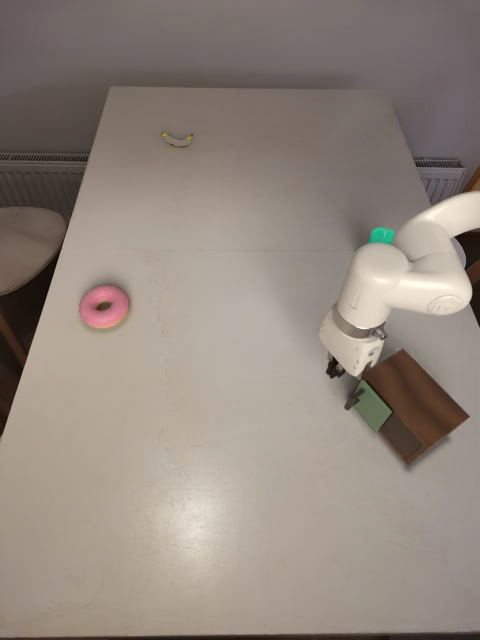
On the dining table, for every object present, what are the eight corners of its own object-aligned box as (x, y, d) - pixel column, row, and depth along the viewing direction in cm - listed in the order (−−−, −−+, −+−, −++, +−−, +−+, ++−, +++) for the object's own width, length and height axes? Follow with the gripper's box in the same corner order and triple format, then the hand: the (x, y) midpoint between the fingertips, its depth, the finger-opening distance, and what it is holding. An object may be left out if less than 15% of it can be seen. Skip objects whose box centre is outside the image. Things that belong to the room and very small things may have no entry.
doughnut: (128, 330, 95) (124, 319, 91) (78, 332, 94) (72, 322, 91) (132, 291, 101) (128, 280, 98) (84, 293, 101) (79, 282, 97)
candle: (382, 278, 105) (398, 243, 95) (357, 272, 106) (370, 236, 96) (385, 261, 108) (401, 225, 98) (362, 255, 109) (374, 219, 99)
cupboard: (386, 374, 90) (403, 348, 81) (445, 437, 82) (470, 416, 73) (350, 398, 86) (363, 373, 78) (407, 466, 79) (429, 447, 70)
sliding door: (351, 400, 86) (363, 379, 78) (377, 430, 82) (392, 411, 75) (337, 410, 84) (347, 389, 77) (362, 441, 81) (376, 423, 73)
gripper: (413, 339, 62) (377, 394, 77) (345, 272, 69) (324, 334, 84) (374, 363, 59) (345, 415, 75) (308, 291, 67) (294, 352, 82)
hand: (334, 372), depth 79 cm, fingers closed
